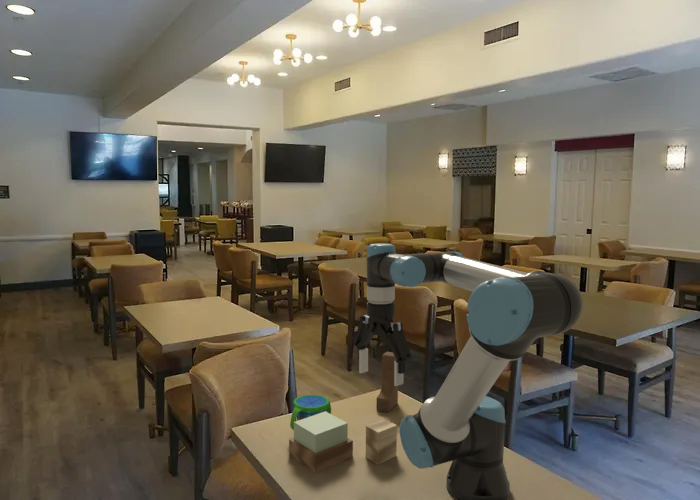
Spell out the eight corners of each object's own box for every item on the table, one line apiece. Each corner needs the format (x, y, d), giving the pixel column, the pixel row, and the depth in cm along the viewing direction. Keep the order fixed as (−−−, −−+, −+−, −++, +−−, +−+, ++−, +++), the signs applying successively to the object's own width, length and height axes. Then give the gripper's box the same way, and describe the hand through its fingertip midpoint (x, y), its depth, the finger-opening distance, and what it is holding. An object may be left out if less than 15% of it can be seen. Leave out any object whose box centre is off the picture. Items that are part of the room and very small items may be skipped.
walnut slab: (352, 457, 145) (352, 440, 145) (315, 474, 137) (315, 456, 136) (326, 442, 154) (326, 426, 154) (289, 456, 146) (289, 439, 145)
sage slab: (347, 440, 145) (347, 423, 144) (315, 453, 138) (315, 434, 137) (325, 427, 152) (325, 411, 152) (294, 439, 145) (293, 422, 145)
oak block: (396, 456, 145) (396, 425, 144) (378, 464, 141) (378, 432, 140) (383, 449, 149) (384, 419, 148) (365, 457, 145) (365, 426, 144)
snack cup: (319, 419, 168) (319, 389, 167) (342, 430, 161) (342, 398, 160) (280, 435, 157) (279, 402, 156) (302, 447, 150) (301, 413, 149)
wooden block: (388, 413, 174) (389, 360, 172) (375, 410, 176) (376, 358, 174) (398, 403, 182) (398, 352, 180) (386, 401, 184) (386, 351, 182)
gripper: (425, 306, 134) (424, 387, 136) (359, 293, 152) (359, 364, 154) (405, 310, 129) (405, 394, 131) (340, 296, 147) (340, 370, 149)
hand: (380, 378), depth 143 cm, fingers open, 13 cm apart
